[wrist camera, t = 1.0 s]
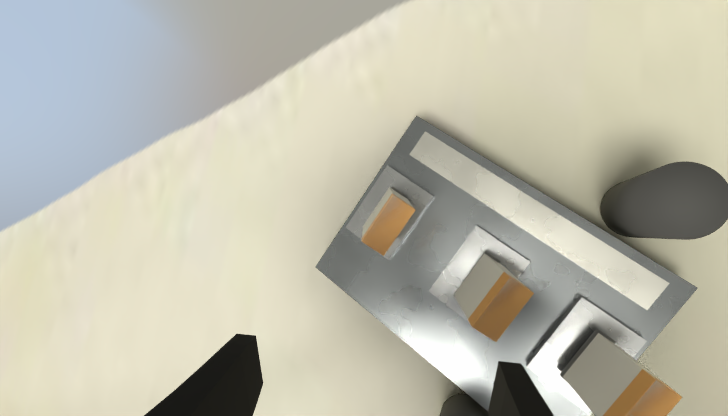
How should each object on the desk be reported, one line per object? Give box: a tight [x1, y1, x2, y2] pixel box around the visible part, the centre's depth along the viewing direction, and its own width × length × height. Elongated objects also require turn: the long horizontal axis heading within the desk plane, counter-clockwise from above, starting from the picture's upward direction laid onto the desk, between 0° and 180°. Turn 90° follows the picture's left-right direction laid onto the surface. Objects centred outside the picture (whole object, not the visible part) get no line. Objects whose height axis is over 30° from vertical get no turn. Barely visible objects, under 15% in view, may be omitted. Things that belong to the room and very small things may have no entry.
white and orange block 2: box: [560, 328, 682, 416], centre depth 16 cm, size 1×3×4 cm, turn 144°
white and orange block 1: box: [454, 251, 534, 342], centre depth 18 cm, size 1×3×4 cm, turn 144°
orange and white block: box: [361, 186, 415, 256], centre depth 20 cm, size 1×3×4 cm, turn 144°
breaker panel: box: [316, 116, 697, 416], centre depth 22 cm, size 16×11×3 cm
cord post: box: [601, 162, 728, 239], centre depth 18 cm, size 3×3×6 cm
